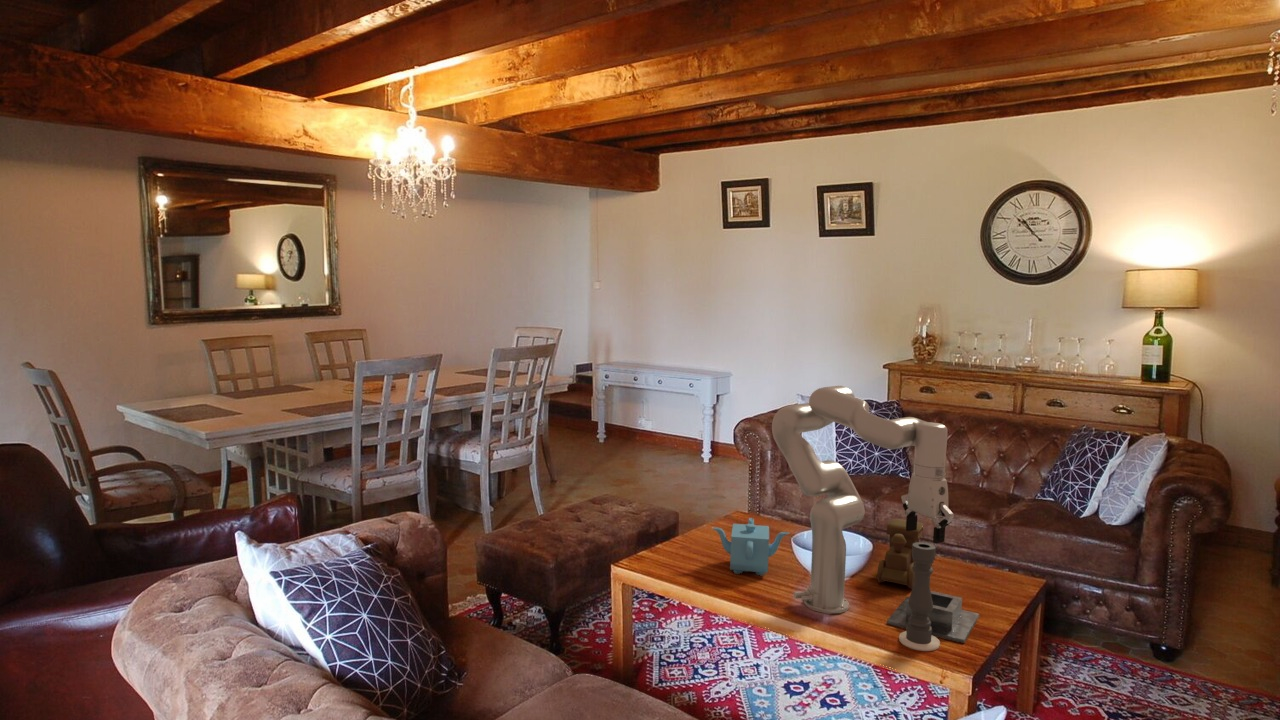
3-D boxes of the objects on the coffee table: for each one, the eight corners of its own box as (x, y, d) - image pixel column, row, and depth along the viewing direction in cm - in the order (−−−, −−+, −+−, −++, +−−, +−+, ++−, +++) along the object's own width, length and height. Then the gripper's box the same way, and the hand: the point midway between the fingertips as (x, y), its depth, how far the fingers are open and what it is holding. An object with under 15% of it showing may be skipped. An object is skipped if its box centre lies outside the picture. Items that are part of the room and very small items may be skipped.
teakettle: (748, 584, 242) (750, 537, 241) (708, 565, 257) (709, 521, 256) (790, 571, 254) (792, 527, 252) (749, 554, 268) (751, 512, 267)
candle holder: (904, 640, 204) (909, 547, 202) (908, 631, 210) (913, 540, 207) (929, 646, 201) (935, 551, 199) (932, 636, 207) (938, 544, 204)
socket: (964, 643, 205) (965, 621, 204) (886, 623, 216) (887, 602, 215) (978, 617, 221) (980, 596, 221) (906, 600, 232) (907, 580, 232)
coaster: (910, 652, 200) (910, 649, 200) (892, 634, 209) (892, 631, 209) (947, 650, 201) (947, 647, 201) (927, 632, 211) (927, 629, 211)
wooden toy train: (887, 565, 260) (890, 516, 259) (923, 572, 255) (926, 522, 253) (874, 585, 243) (877, 533, 241) (912, 593, 238) (915, 540, 236)
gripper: (966, 478, 194) (961, 545, 196) (916, 462, 210) (911, 524, 212) (943, 480, 191) (938, 549, 193) (893, 464, 207) (889, 527, 209)
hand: (924, 536), depth 203 cm, fingers open, 9 cm apart
